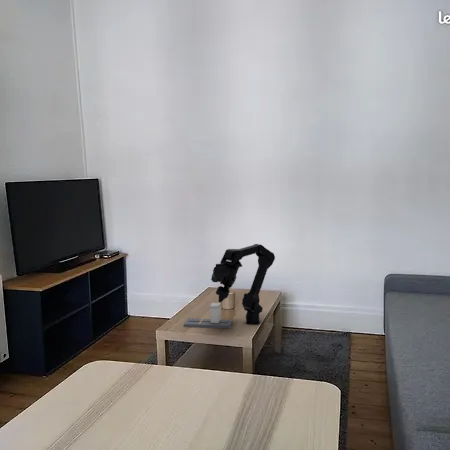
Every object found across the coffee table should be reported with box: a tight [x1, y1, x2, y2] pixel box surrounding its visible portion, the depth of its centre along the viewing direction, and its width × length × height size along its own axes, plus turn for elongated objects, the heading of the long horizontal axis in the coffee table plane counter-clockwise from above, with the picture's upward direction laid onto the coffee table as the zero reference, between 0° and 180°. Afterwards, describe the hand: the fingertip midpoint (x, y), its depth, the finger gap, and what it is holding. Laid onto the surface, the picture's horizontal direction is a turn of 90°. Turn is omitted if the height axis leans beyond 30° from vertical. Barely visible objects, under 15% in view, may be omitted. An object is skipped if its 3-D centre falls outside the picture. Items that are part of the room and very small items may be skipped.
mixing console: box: [183, 317, 233, 329], centre depth 241 cm, size 24×9×2 cm, turn 80°
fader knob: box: [209, 302, 222, 323], centre depth 239 cm, size 5×6×9 cm
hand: (221, 297), depth 238 cm, fingers open, 9 cm apart
